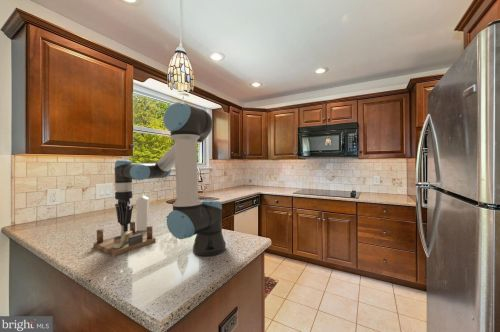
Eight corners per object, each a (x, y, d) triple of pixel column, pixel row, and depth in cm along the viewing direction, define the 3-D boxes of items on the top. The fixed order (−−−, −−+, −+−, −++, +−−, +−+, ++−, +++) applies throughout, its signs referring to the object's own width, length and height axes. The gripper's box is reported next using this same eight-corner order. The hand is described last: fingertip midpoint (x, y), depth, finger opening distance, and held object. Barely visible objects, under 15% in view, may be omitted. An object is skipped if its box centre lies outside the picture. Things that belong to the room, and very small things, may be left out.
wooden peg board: (155, 241, 109) (155, 226, 109) (114, 256, 92) (114, 237, 92) (134, 235, 120) (134, 221, 120) (93, 246, 103) (93, 230, 103)
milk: (136, 231, 127) (135, 194, 127) (139, 228, 133) (139, 193, 133) (147, 230, 128) (146, 194, 128) (149, 227, 134) (149, 193, 134)
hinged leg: (119, 248, 95) (119, 238, 95) (112, 248, 95) (112, 238, 95) (133, 238, 107) (133, 229, 107) (127, 238, 107) (127, 229, 107)
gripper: (138, 190, 106) (138, 237, 106) (124, 189, 113) (125, 233, 113) (122, 192, 100) (123, 242, 100) (109, 190, 107) (109, 237, 107)
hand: (124, 237), depth 107 cm, fingers closed
